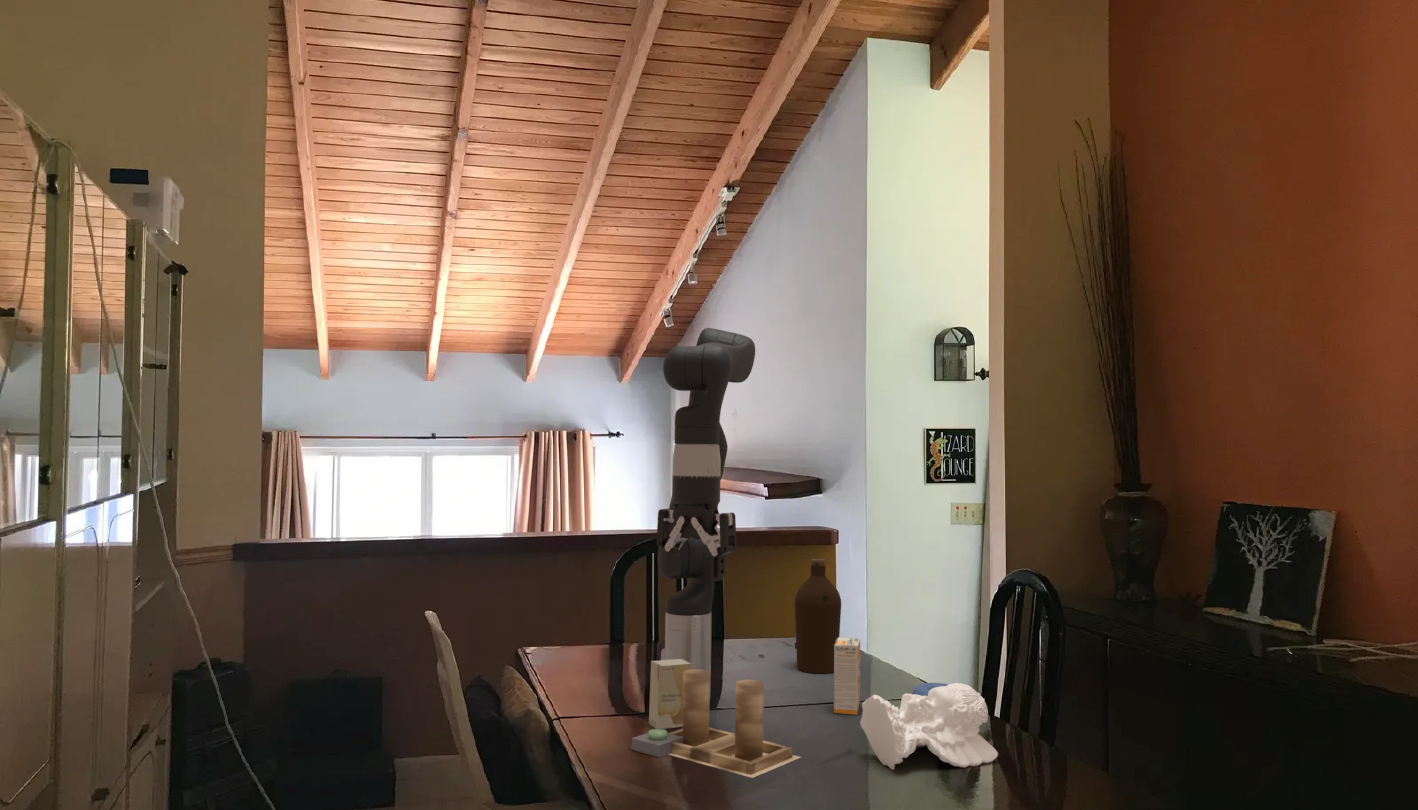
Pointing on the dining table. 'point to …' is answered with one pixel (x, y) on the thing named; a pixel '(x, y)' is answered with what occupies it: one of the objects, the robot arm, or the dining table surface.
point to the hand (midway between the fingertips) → (695, 577)
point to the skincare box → (667, 693)
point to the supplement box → (847, 675)
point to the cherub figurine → (929, 726)
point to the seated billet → (696, 706)
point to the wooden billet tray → (732, 754)
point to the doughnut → (926, 688)
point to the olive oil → (817, 621)
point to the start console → (655, 742)
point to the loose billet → (749, 720)
